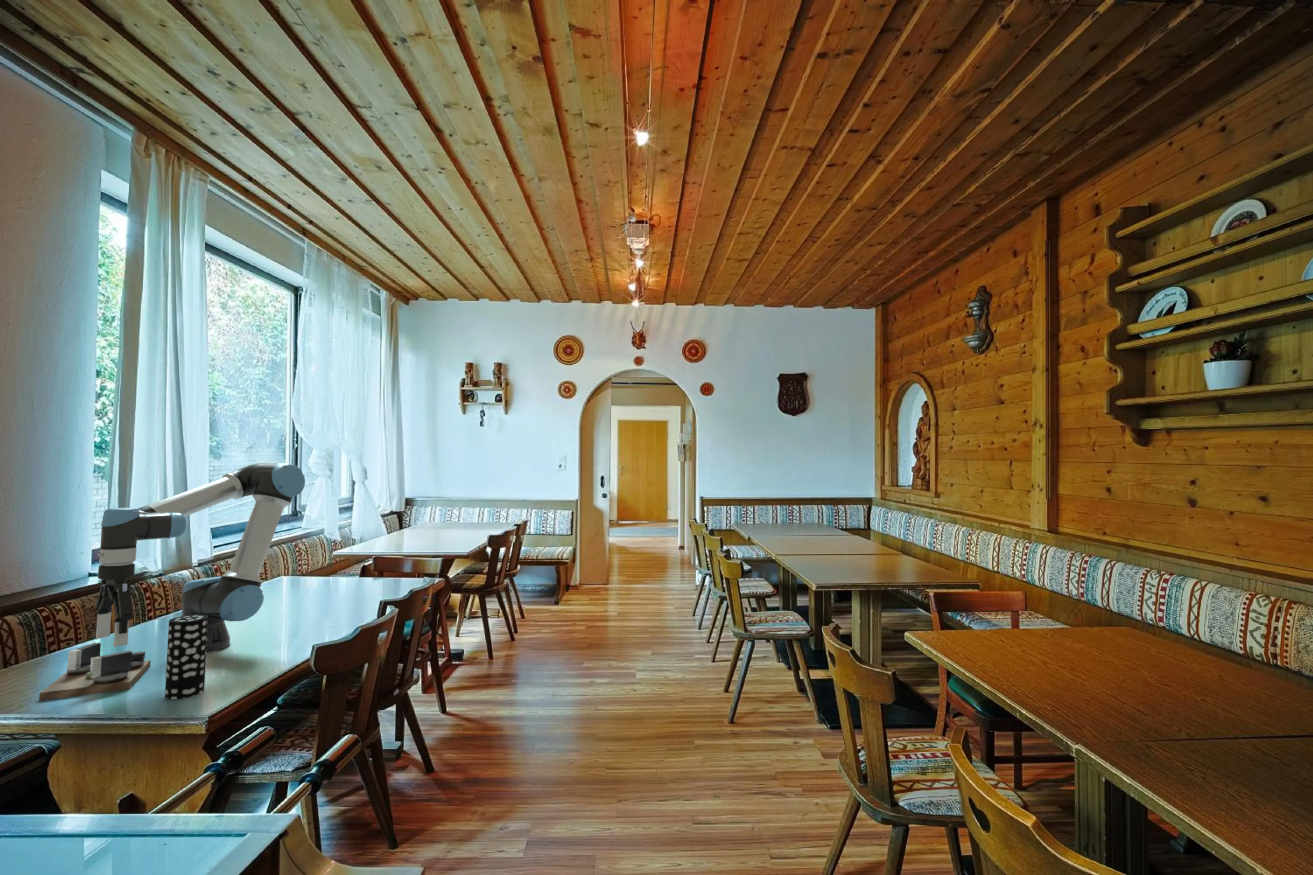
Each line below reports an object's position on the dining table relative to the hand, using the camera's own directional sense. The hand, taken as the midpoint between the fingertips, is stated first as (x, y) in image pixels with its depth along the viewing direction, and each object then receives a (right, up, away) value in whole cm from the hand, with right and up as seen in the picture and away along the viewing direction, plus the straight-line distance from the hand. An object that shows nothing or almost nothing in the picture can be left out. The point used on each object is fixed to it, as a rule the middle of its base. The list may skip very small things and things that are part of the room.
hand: (111, 641), depth 163 cm
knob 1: (-14, -11, +6) cm, 18 cm away
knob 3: (-4, -11, +10) cm, 15 cm away
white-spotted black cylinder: (+23, -13, -4) cm, 27 cm away
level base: (-6, -13, +3) cm, 14 cm away
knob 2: (0, -11, 0) cm, 11 cm away
